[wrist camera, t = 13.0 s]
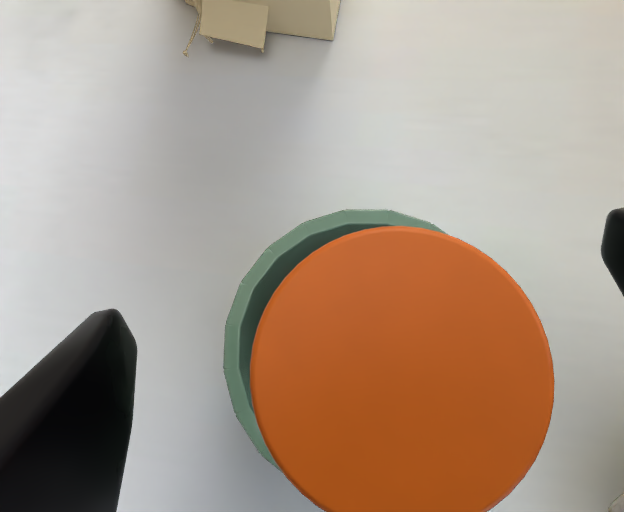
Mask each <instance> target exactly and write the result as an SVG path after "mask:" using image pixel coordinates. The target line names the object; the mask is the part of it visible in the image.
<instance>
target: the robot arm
mask: <svg viewBox="0 0 624 512" xmlns="http://www.w3.org/2000/svg"><path fill="white" fill-rule="evenodd" d="M601 255H602V258H603V261H604V263H605V265H606V266H607V268H608V270H609V272H610V273H611V275H612V277H613V278H614V280H615V282H616V284H617V285H618V287H619V289H620V291H621V292H622V294H623V296H624V208H620V209H615V210H612V211H611V212H610V213H609V214H608V216H607V219H606V224H605V229H604V234H603V239H602V245H601ZM136 362H137V345H136V341H135V339H134V337H133V335H132V333H131V331H130V329H129V328H128V326H127V324H126V322H125V320H124V319H123V317H122V315H121V314H120V312H119V311H118V310H116V309H108V310H103V311H98V312H94V313H93V314H91V315H90V316H89V317H88V318H87V319H86V320H85V321H84V322H82V323H81V324H80V325H79V326H78V327H77V328H76V329H75V330H74V331H73V332H72V333H70V334H69V335H68V336H67V337H66V338H65V339H64V340H63V341H62V342H61V343H60V344H58V345H57V346H56V347H55V348H54V349H53V350H52V351H51V352H50V353H49V354H48V355H46V356H45V357H44V358H43V359H42V360H41V361H40V362H39V363H38V364H37V365H36V366H34V367H33V368H32V369H31V370H30V371H29V372H28V373H27V374H26V375H25V376H23V377H22V378H21V379H20V380H19V381H18V382H17V383H16V384H15V385H14V386H13V387H11V388H10V389H9V390H8V391H7V392H6V393H5V394H4V395H3V396H2V397H1V398H0V512H116V510H117V505H118V500H119V494H120V489H121V483H122V478H123V473H124V467H125V462H126V456H127V451H128V446H129V440H130V434H131V428H132V420H133V408H134V393H135V377H136Z"/></svg>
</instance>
